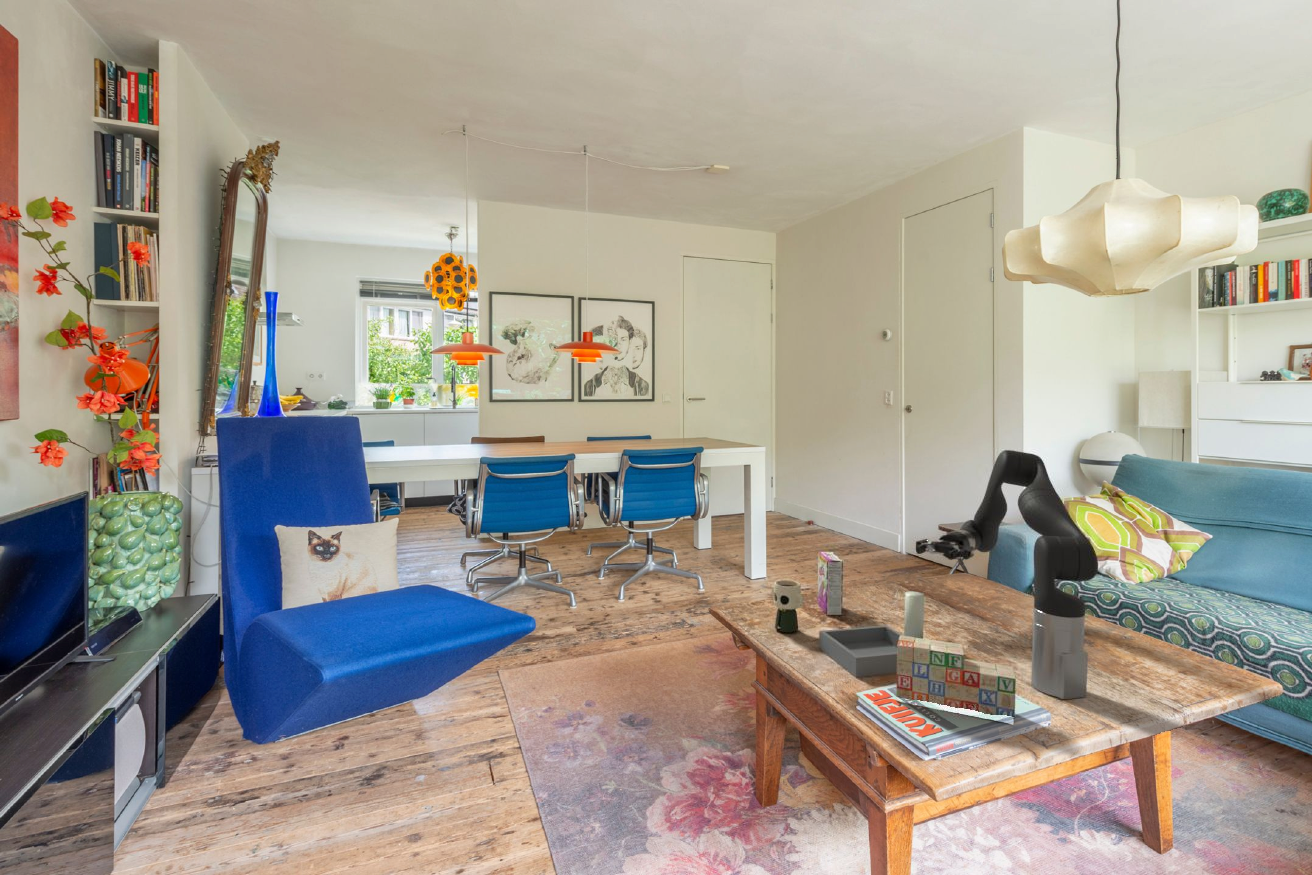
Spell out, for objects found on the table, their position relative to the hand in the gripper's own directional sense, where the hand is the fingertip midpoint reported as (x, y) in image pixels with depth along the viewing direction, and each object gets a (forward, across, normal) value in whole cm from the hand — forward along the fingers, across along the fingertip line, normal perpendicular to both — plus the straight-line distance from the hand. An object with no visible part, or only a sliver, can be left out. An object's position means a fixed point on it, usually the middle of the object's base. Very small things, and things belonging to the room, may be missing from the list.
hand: (933, 553), depth 168 cm
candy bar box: (+7, -27, +21) cm, 35 cm away
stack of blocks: (+42, +22, +21) cm, 51 cm away
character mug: (+31, -26, +21) cm, 46 cm away
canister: (+11, 0, +21) cm, 24 cm away
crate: (+31, -1, +21) cm, 38 cm away
